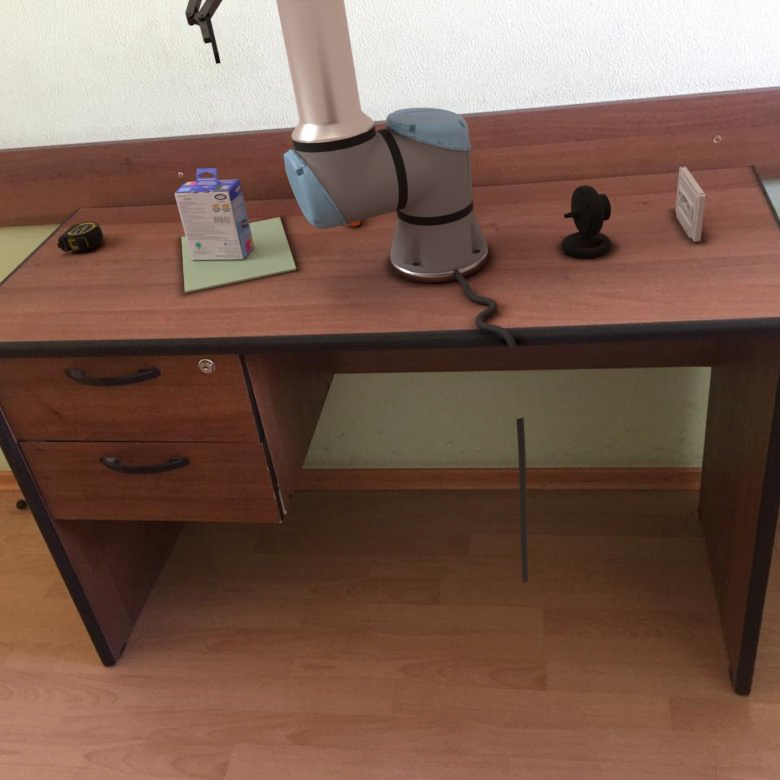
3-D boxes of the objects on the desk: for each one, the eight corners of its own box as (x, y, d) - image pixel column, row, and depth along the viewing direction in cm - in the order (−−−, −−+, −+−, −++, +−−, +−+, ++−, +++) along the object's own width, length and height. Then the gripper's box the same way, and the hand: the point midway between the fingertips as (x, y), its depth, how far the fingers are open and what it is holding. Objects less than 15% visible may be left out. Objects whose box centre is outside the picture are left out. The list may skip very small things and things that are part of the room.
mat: (296, 270, 134) (296, 268, 134) (185, 293, 132) (184, 291, 132) (280, 219, 152) (279, 216, 152) (181, 238, 150) (181, 236, 150)
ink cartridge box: (256, 245, 143) (238, 164, 134) (245, 260, 138) (226, 177, 130) (203, 246, 145) (181, 166, 137) (190, 261, 141) (168, 179, 132)
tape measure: (78, 239, 155) (71, 220, 153) (112, 237, 154) (105, 219, 152) (60, 255, 150) (53, 236, 148) (95, 254, 148) (88, 235, 146)
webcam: (620, 252, 127) (623, 190, 121) (575, 263, 125) (576, 201, 120) (596, 233, 133) (598, 173, 127) (553, 243, 132) (553, 183, 126)
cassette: (703, 242, 126) (709, 194, 122) (691, 243, 126) (696, 195, 122) (683, 210, 136) (688, 165, 132) (672, 211, 136) (676, 166, 132)
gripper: (306, -60, 141) (335, 51, 138) (159, -37, 138) (185, 78, 135) (306, -94, 134) (336, 23, 130) (150, -70, 131) (177, 50, 127)
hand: (259, 51), depth 133 cm, fingers open, 13 cm apart
